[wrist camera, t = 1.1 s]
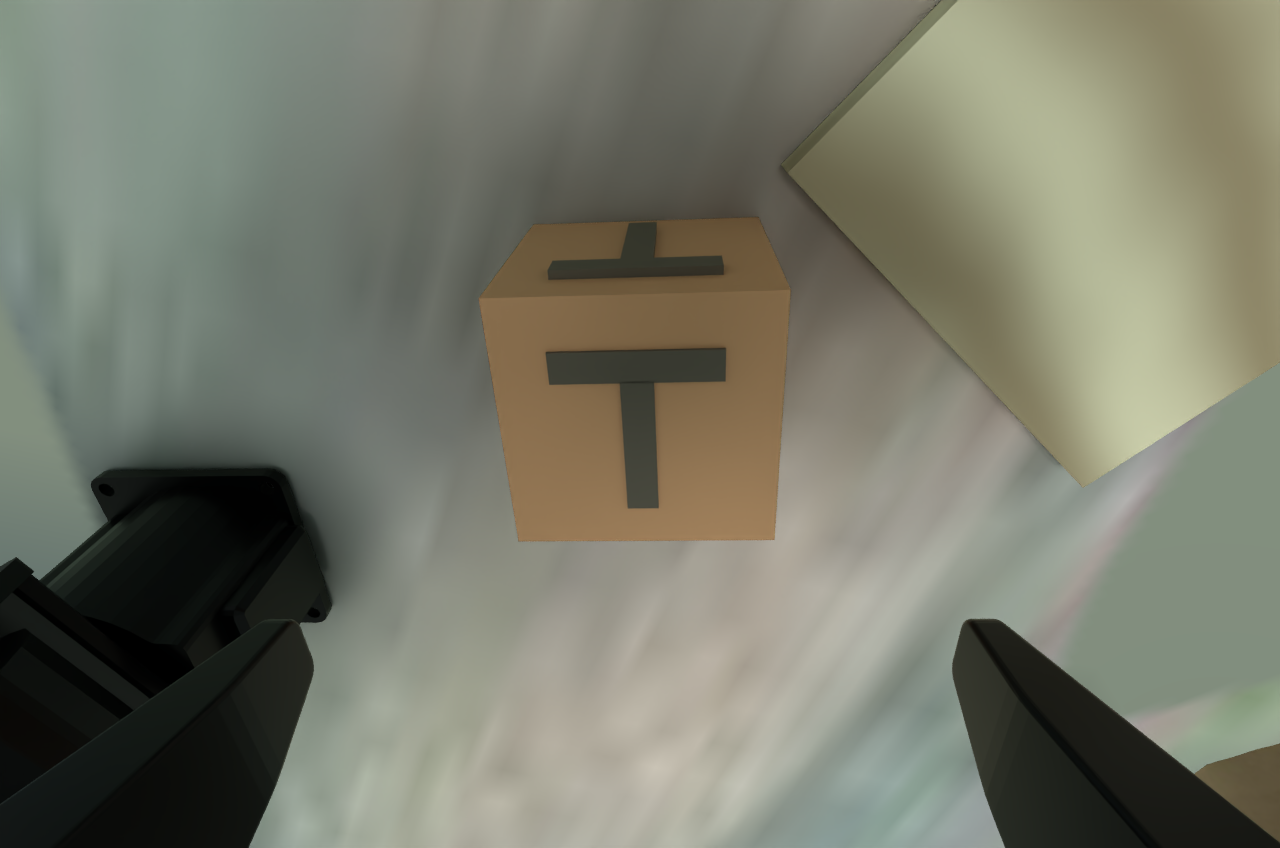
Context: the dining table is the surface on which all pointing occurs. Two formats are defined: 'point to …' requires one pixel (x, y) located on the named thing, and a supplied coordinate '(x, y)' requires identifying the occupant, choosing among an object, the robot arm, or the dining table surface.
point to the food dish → (1250, 785)
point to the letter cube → (640, 379)
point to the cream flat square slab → (1075, 204)
